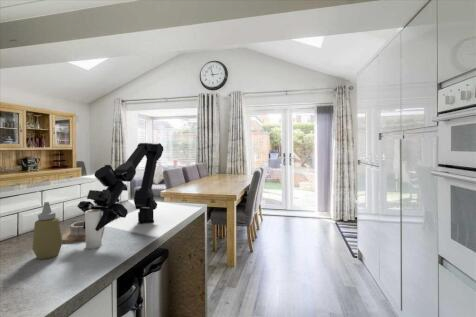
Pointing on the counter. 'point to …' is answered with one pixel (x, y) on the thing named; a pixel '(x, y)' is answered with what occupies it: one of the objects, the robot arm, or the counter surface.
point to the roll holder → (76, 233)
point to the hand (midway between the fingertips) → (90, 229)
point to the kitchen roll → (92, 229)
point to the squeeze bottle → (47, 234)
